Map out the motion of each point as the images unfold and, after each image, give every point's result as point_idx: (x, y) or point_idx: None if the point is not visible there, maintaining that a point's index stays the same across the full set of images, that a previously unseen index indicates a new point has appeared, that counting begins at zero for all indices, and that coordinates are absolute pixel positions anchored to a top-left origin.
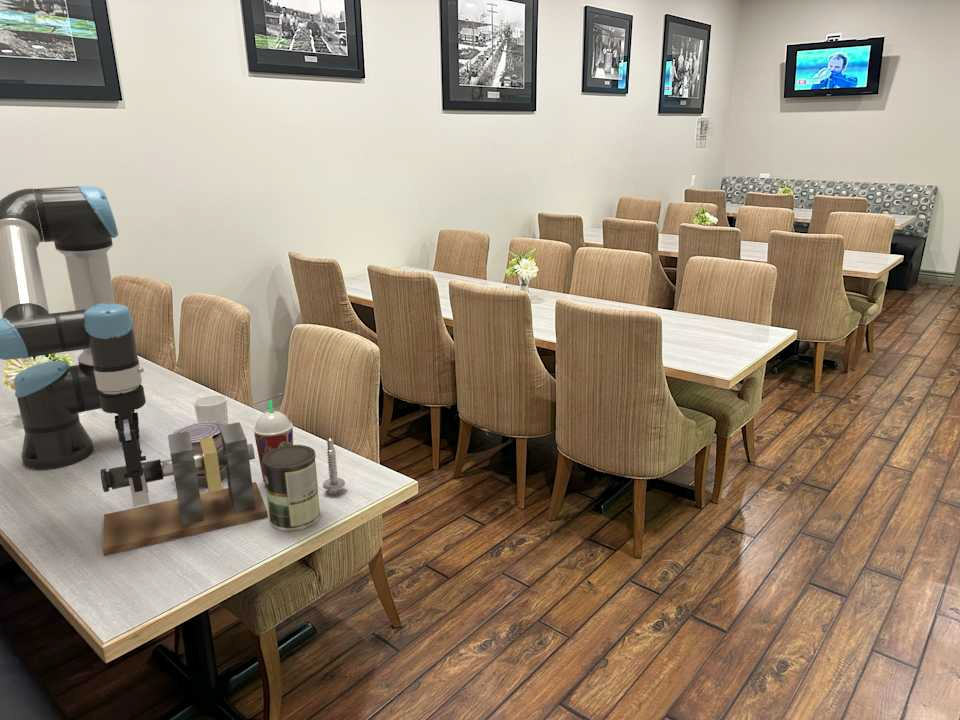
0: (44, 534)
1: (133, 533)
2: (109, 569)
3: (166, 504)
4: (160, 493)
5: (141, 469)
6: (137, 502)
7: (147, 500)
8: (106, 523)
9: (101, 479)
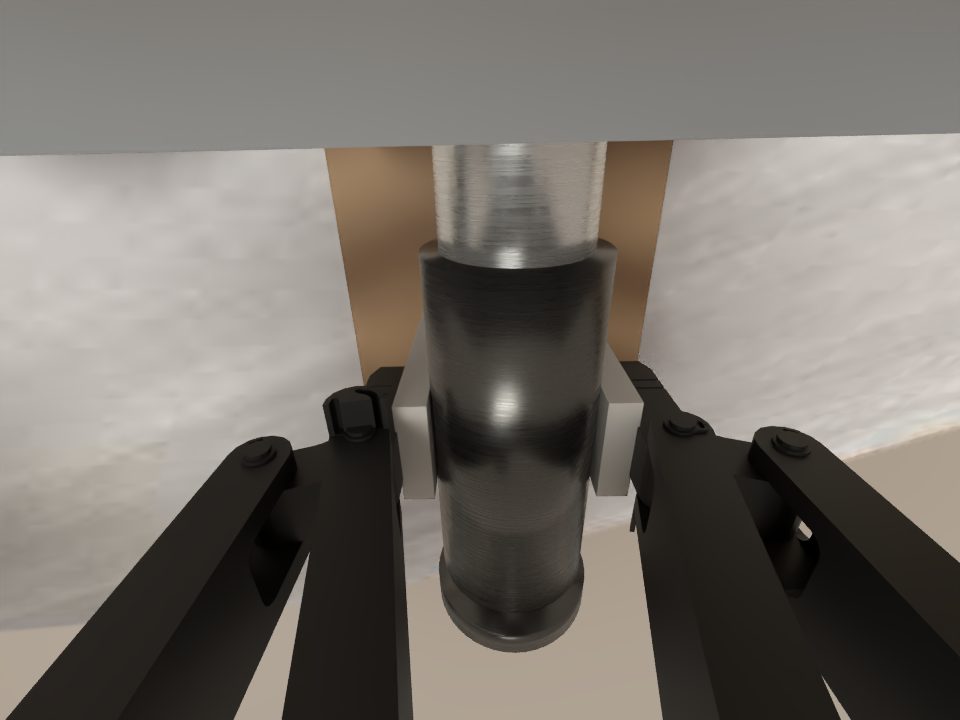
0: None
1: None
2: (715, 388)
3: (371, 201)
4: (189, 223)
5: (852, 474)
6: None
7: None
8: None
9: (576, 612)
